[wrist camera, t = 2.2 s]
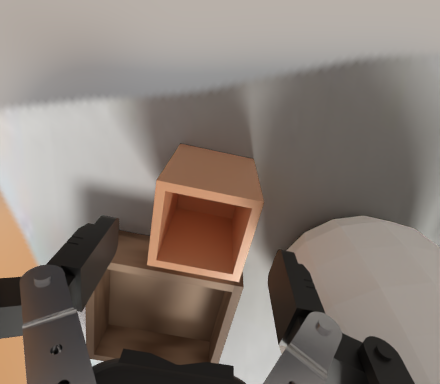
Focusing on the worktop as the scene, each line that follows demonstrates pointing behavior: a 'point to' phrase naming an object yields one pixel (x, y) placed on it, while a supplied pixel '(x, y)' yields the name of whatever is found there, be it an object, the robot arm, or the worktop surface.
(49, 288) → the robot arm
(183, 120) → the worktop surface
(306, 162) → the worktop surface
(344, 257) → the white round vase
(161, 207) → the terracotta crate
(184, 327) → the walnut crate
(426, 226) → the worktop surface
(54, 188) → the worktop surface
